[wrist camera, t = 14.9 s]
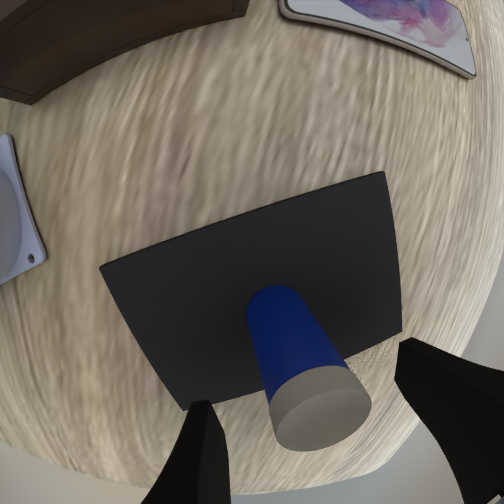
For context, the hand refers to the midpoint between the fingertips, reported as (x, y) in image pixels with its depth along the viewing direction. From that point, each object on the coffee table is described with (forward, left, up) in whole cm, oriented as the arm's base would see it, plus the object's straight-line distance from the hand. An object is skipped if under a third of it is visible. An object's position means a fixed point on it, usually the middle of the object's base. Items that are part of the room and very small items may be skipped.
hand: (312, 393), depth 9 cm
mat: (0, 0, -7) cm, 7 cm away
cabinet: (-3, +23, -7) cm, 24 cm away
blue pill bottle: (0, 0, -6) cm, 7 cm away
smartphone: (+13, +16, -7) cm, 22 cm away
